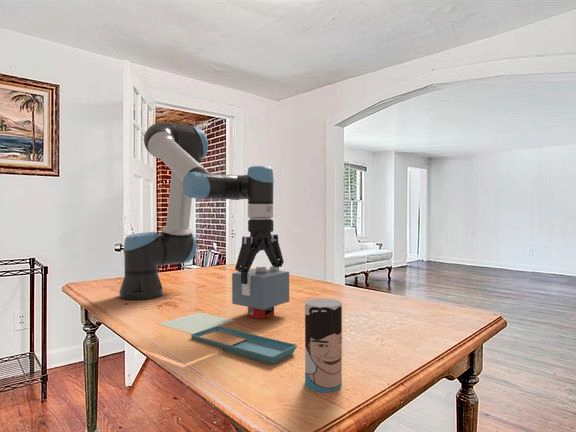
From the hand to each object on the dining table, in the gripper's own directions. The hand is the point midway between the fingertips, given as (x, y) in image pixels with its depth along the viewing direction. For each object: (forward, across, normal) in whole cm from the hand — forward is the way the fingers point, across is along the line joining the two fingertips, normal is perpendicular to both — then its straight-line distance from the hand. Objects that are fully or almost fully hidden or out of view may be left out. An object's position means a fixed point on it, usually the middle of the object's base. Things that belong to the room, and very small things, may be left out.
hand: (260, 291), depth 116 cm
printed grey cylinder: (+8, -27, -38) cm, 47 cm away
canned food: (+8, 0, 0) cm, 8 cm away
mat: (+8, -16, +10) cm, 20 cm away
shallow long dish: (+8, -22, -13) cm, 27 cm away
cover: (+3, 0, 0) cm, 3 cm away
